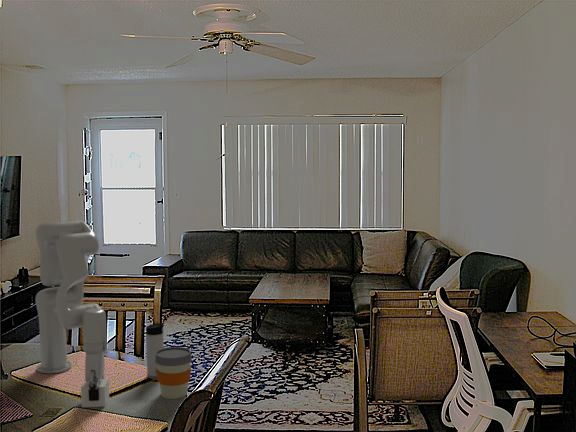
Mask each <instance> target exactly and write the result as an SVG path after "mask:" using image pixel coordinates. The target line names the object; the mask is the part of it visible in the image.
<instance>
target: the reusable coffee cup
mask: <svg viewBox="0 0 576 432" xmlns="http://www.w3.org/2000/svg"><path fill="white" fill-rule="evenodd" d="M192 360H193V358H192V351H191V349H189V348H186V347H183V346H172V347H171V346H169V347H164V348H163V349H160V350H158V351H157V352H156V358H155V362H156V364H157V368H156V372H157V378H158V379H157V381H158V383H159V388H160V389H159V390H160V395H161V398H164V399H168V400H169V399H171V400H176V399H181V398H183V397H186V396H187V395H188V389H189V382H190V380H191V373H192V366H191V364H192Z"/></svg>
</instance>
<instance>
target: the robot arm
mask: <svg viewBox="0 0 576 432" xmlns="http://www.w3.org/2000/svg"><path fill="white" fill-rule="evenodd" d="M35 238H36V242H37V246H38V247H39V261H40V262H39V264H40V265H39V277H40V282H41V283H42V285H43V286H46V287H47V288H44V289H41V290H40V291H38V292H37V293H36V295H35V306H36V310H37V317H38V323H39V326H38V327H39V343H40V345H39V347H40V364H39V365H37V367H36V370H37V372H38V373H41V374H46V375H47V374H58V373H59V374H60V373H63V372H66V371H68V370H70V369H71V368H72V362H70V361H69V360H68V353H67V352H68V350H67V349H68V348H67V347H68V346H67V345H68V344H67V330H73V329H78V328H82V344H83V345H82V346H83V347H82V348H83V352H84V353H85V358H84V359H85V361H84V367H85V368H84V377H85V378H84V379H85V380H84V381H86V382H88V381H89V401H98V400H99V389H98V382H99V381H100V380H101V379H105V378H104V377H105V376H104V374H105V351H107V350H108V345H107V315H106V314H107V313H106V311H105V310H104V309H102V307H101V306H100V305H99V304H98V303H92V302H91V303H86V304H83V303H84V294H85V293H84V289H85V286H84V285H85V280H86V279H87V278H88V277H89V269H88V267H87V261H86V257H87V256H88V257H89V256H94V255H96V254H97V253H98V251H99V250H100V249H99V247H100V245H99V241H98V237H97V235H96V234H95V232H94V231H93V229H92V228H91V227H90V226H89V225H88V224H87V223H86V222H85V221H83V220H80V219H74V220H57V221H48V222H43V223H39V225H38V226H37V227H36V230H35ZM94 379H97V380H94ZM95 383H96V385H95Z"/></svg>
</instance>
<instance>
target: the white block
mask: <svg viewBox="0 0 576 432" xmlns="http://www.w3.org/2000/svg"><path fill="white" fill-rule="evenodd" d="M109 379H110V378H104V379H101V380H100V381H99V382H98V389H99V400H98V401H89V381H88V382H86V381H85V380H84V381H83V382H82V385H81V387H80V399H81V401H80V402H81V403H80V404H81V408H99V407H106V406H107V404H108V401H109V398H110V383H109V381H110V380H109ZM94 380H97V379H94ZM95 385H96V383H95Z"/></svg>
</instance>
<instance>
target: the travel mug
mask: <svg viewBox="0 0 576 432" xmlns="http://www.w3.org/2000/svg"><path fill="white" fill-rule="evenodd" d="M164 327H165V324H164V323H153V324H149V325H148V326H146V327H145V328H146V330H145V332H146V333H145V335H146V336H145V339H146V342H145V343H146V377H147V376H148V377H147V378H149V379H152V380H158V378H157V372H156V368H157V364H156V362H155V358H156V352H157V351H158V350H160V349H163V348H165V346H164V343H165V342H164Z"/></svg>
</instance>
